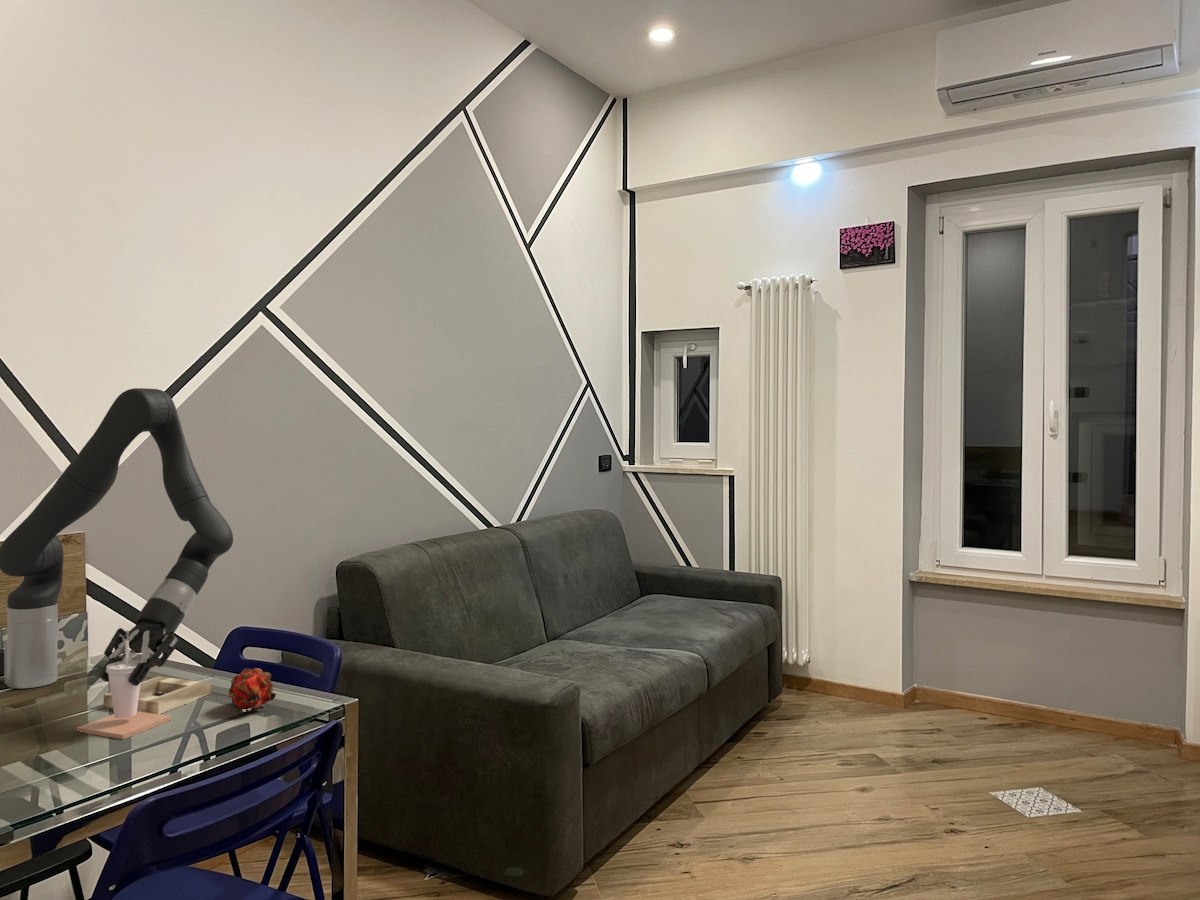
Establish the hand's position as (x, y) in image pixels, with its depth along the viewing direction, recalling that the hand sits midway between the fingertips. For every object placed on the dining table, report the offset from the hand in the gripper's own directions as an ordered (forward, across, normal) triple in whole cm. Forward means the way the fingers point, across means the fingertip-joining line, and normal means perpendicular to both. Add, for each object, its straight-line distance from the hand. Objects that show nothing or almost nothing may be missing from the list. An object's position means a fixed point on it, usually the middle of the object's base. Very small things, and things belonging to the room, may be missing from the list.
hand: (118, 681), depth 161 cm
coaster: (+5, 0, +7) cm, 9 cm away
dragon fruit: (-6, +15, +20) cm, 26 cm away
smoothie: (+4, 0, +6) cm, 7 cm away
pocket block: (-5, -6, +17) cm, 19 cm away
